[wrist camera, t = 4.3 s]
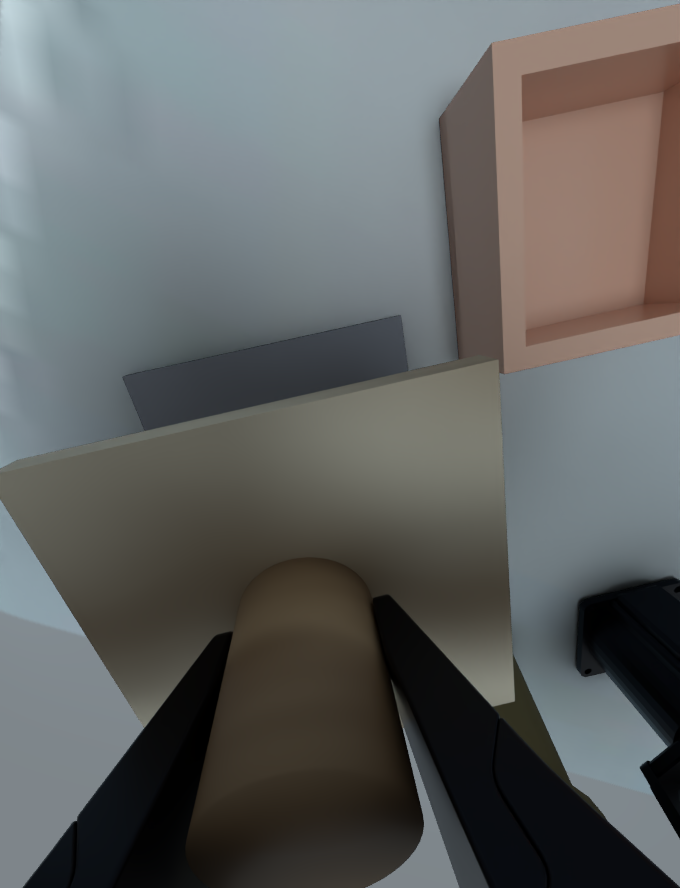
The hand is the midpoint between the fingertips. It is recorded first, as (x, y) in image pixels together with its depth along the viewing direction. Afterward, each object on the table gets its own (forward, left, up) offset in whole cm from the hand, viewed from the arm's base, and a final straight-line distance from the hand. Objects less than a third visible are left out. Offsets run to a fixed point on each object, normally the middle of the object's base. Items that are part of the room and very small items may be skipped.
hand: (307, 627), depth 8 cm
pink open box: (+8, -12, -10) cm, 18 cm away
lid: (0, 0, -1) cm, 1 cm away
